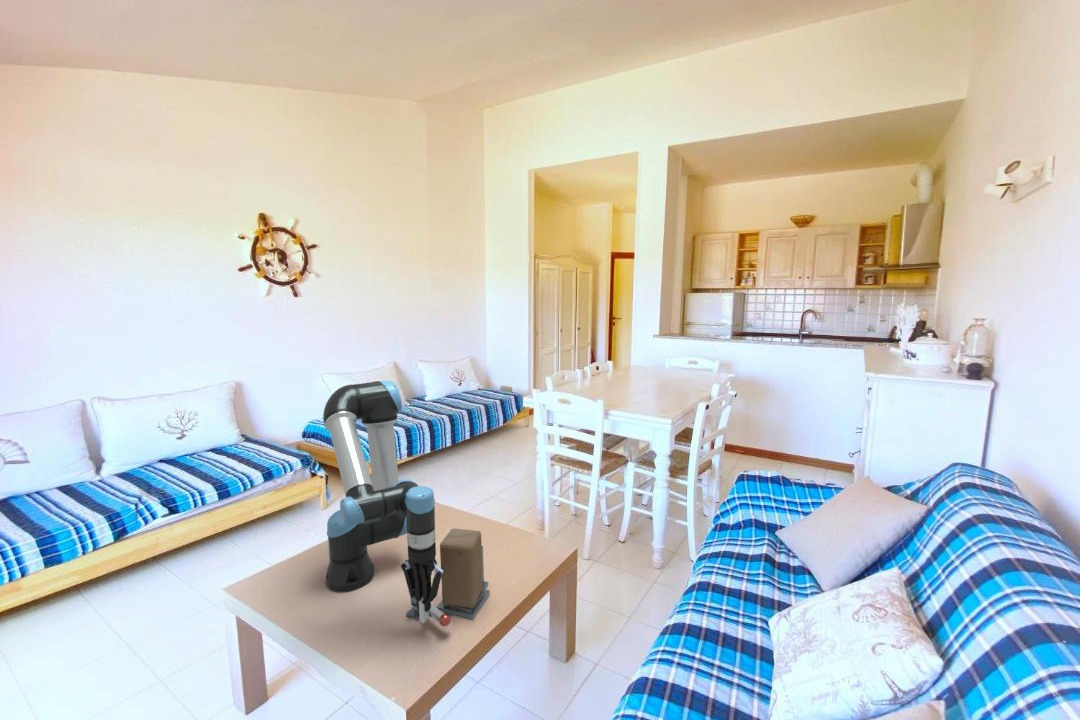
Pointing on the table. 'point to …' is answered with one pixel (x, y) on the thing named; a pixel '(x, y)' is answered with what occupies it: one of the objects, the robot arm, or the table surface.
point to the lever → (435, 613)
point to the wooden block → (461, 567)
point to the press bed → (456, 610)
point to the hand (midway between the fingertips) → (424, 619)
